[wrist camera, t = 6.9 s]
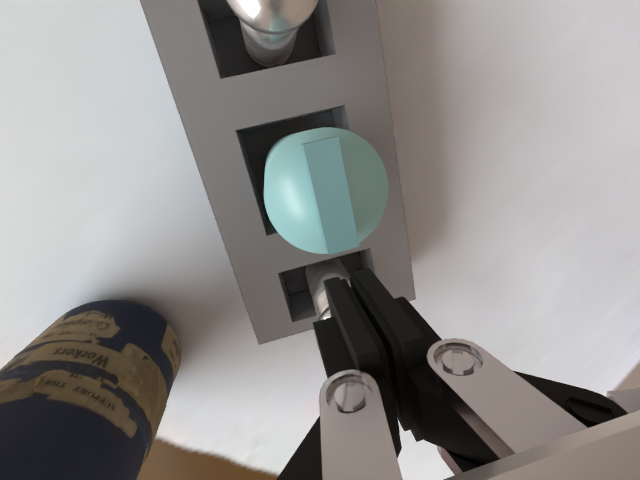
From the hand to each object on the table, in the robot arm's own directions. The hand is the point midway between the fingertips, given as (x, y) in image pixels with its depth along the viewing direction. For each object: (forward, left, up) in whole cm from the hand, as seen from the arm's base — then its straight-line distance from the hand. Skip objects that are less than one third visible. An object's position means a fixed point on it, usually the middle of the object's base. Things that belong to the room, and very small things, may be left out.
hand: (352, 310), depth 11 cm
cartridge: (-4, 0, -14) cm, 15 cm away
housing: (-4, 0, -14) cm, 15 cm away
